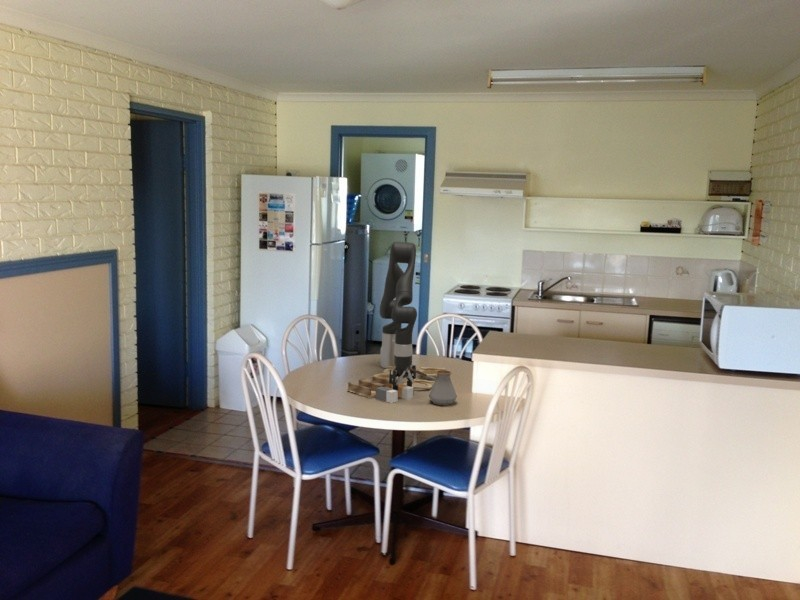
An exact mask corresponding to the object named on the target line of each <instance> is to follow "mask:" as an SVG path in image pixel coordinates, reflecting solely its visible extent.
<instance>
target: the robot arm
mask: <svg viewBox="0 0 800 600" xmlns="http://www.w3.org/2000/svg"><path fill="white" fill-rule="evenodd" d="M416 257H417V246H416V244H415V243H413V242H406V241H394V242H392V243H391V247H390V253H389V261H388V268H387V271H386V272H387V273H386V277H385V282H384V289H383V290H384V291H383V295H382V298H381V301H380V304H379V315H380V317H381V319H384V320H392V322H390V323H388V324H385V325H383V327H382V332H381V333H382V336H381V337H382V341H381V347H380V358H379V359H380V361H379V362H380V363H379V366H380V367H382V368H383V369H388V368H387V366H392V367H396V368H395V370H390V375H389V384H392V385H393V390H396V391H398V384H400V382H401V381H402V380H403V379H404V378H406V380H407V381H406V382H407V386H410V387H412V381H413V379H417V373H415V372H414V371H411V370H409V369H408V370H406V369H407V367H409V368H411V369H414V370H417V367H416V365H414V364H413V333H414V332H413V331H414V327H415V324H416V321H417V317H418V312H417V309H416V308H415V307H414V306H409V305H410V304H412V303H413V298H414V297H413V296H414V294H413V292H414V291H413V287H414V286H413V285H414V283H413V282H414V274H415V267H416ZM399 264H407V266H406V269H405V270H404V271H403V270H402V268H401V267H400V266H399ZM402 324H407V326H405V327H403V328H402V326H403V325H402ZM406 371H407V372H406ZM397 376H398V377H399V378H397ZM392 379H393V381H392Z"/></svg>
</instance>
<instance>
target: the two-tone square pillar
mask: <svg viewBox="0 0 800 600" xmlns="http://www.w3.org/2000/svg"><path fill="white" fill-rule="evenodd" d="M398 398H399V397H398V391H396V390H393V389H389V388H386V387H378V388H376V397H375V399H376V400H379V399H380V400H379V401H382V400H383V401H382V402H385V401H386V403H389V402H390V403H389V404H394V403H397V401H398ZM393 402H394V403H393Z"/></svg>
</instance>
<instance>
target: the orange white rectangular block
mask: <svg viewBox="0 0 800 600" xmlns="http://www.w3.org/2000/svg"><path fill="white" fill-rule="evenodd" d="M392 389H393V385H392ZM400 397H402V398H401V399H403V398H405V399H404V400H407V399H408V400H410V399H409V398H411V399H413V398H414V390H413V387H410V386H406V385H403V383H399V384H398V398H400ZM412 397H413V398H412Z"/></svg>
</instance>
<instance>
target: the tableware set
mask: <svg viewBox="0 0 800 600" xmlns="http://www.w3.org/2000/svg"><path fill="white" fill-rule="evenodd" d="M387 368H388V369H386V368H384V370H383V371H382V373H375V374H374V375H372V376H375V377H379V378H382V379H386V380H389V375H390V370H395V368H396V367H392V366H387ZM439 370H446V371H447V368H446V367H428V366H421V367H420V369H419V370H418V371H420V372H422V373H424V374H427V375H429V376H432V377H434V378H437V374H436V371H439ZM372 376H369V379H372ZM421 376H422V378H423V377H424V378H423V379H418V378H416V379H413V381H412V384H413V383H420V384H425V385H426V386H427V387H413V391H426V390H431V389H432V387H433V384H434V381H429V380H432V379H431V378H429V377H426V376H423V375H421ZM397 378H399V377H398V376H397ZM425 378H427V379H425ZM392 381H393V379H392ZM402 385H406V386H407V381H406V382H404V383H402Z"/></svg>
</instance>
